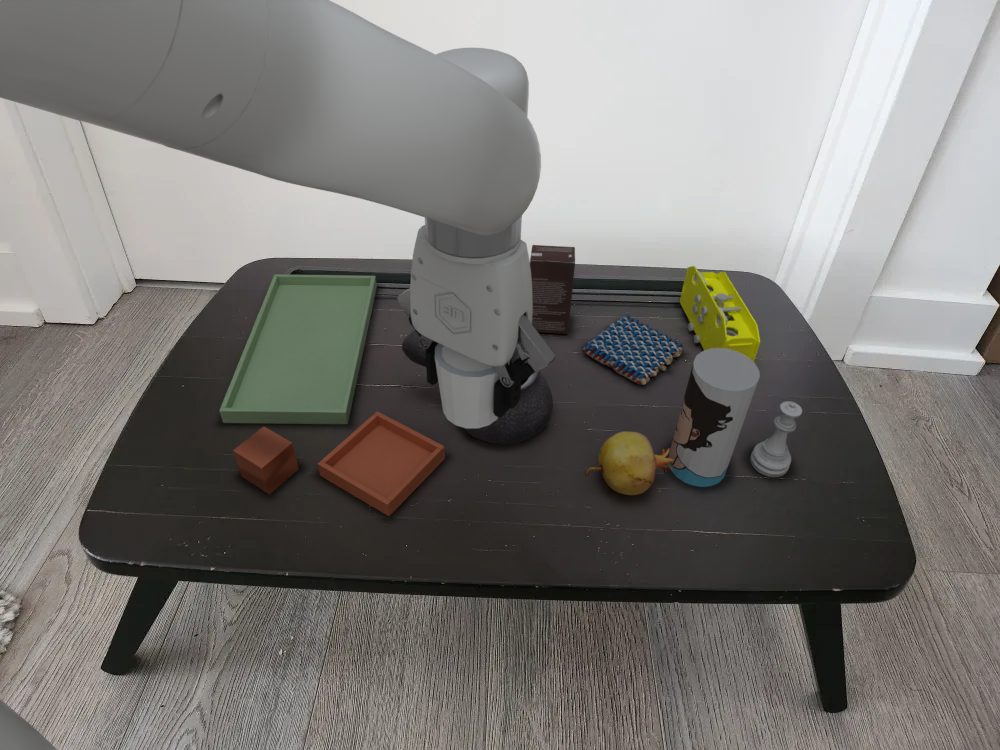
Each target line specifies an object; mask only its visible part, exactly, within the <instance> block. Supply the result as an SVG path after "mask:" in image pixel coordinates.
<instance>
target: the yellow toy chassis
mask: <svg viewBox="0 0 1000 750" xmlns="http://www.w3.org/2000/svg"><path fill="white" fill-rule="evenodd" d="M679 304H680V305H681V308H682V310H683V311H684V314H685V315H686V317H687V319H688V321H689V323H688V324H687V329H688V331H689V332H694V333H695V334H694V336H693V342H694V344H699V343H700V346H701V347H702V349H703V351H705V350H708V349H713V348H724V349H730V350H734V351H737V352H740V353H741V354H743V355H745V356H747V357H749V358H750V359H751V360H752V361H753V362H754V363H755V360H756V357H757V354H758V352H759V348H760V344H761V336H760V331H759V325H758V323H757V321H756V320H755V318H754V317H753V315H752V313H751V312H750V310H749V308H748V307H747V305H746V304H745V301H744V300H743V298H742V297H741V295H740V294H739V292H738V290H737V289H736V288H735V285H734V284H733V282H732V281H731V280H730V278H729V276H728V275H727V272H726V271H719V272H718V271H717V272H714V271H706V272H705V271H704V272H702V271H699V270H698V269H697V267H696V265H691V266H689V267H688V266H687V267H686V272H685V276H684V280H683V285H682V290H681V294H680V298H679Z"/></svg>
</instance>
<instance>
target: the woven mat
mask: <svg viewBox="0 0 1000 750" xmlns="http://www.w3.org/2000/svg"><path fill="white" fill-rule="evenodd" d="M683 347H684V345H683V344H682V343H681V342H680V343H679V342H678V340H677V339H674V340H673V338H672V337H668V334H665V333H664V335H663V333H662V332H659V330H658V329H654V328H652V327H649V325H648V324H645V325H644V323H643V322H640V320H639V319H638V318H637V319H636V320H635V318H634V317H631V315H630V314H627V315H626V316H625V317H622V316H620V319H619V320H616V322H615V323H613V322H612V323H611V324H610V326H609V327H608V328H607V330H602V332H600V334H597V336H595V338H593V339H591V340H590V341H588V342H587V345H586V346H583V352H584V353H585V354H586V355H587V356H589V357H590V358H592V359H593V360H595V361H597V362H598V363H600V364H602V365H604V366H607V367H608V368H612V369H613V370H614V371H615V372H616V373H617V374H619V375H621V376H623V378H626V379H628V380H630V381H632V382H634V383H636V384H637V385H641V386H644V385H646V384H647V383H649V381H650V380H651V378H652V377H656V376H657V374H658V373H659V372H660V371H663V372H665V371H667V366H668V365H670V364H672V363H673V361H674V358H679V357H680V356H681V355H682V353H683V351H682V350H683ZM665 365H666V366H665ZM650 377H651V378H650Z"/></svg>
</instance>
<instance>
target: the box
mask: <svg viewBox="0 0 1000 750" xmlns="http://www.w3.org/2000/svg"><path fill="white" fill-rule="evenodd" d="M531 245H532V246H531V252H530V257H529V261H530V268H531V278H532V301H533V311H532V325H533V327H534V328H535V329H536V330H537V332H538V333H544V334H545V333H546V334H561V335H569V328H570V320H571V311H572V310H571V309H572V299H573V290H574V289H573V288H574V278H575V268H576V267H575V266H576V247H575V246H563V245H562V246H559V245H543V244H542V245H541V244H531Z"/></svg>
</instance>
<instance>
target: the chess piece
mask: <svg viewBox="0 0 1000 750" xmlns="http://www.w3.org/2000/svg"><path fill="white" fill-rule="evenodd" d="M779 411H780V413H781V415H778V416H776V417H775V418H774V420H773V426H774V427H775V431H774V432H773V434H772V435H771V437H769V438H766V439H765V440H764V441H761V442H760V443H759V442H758V443H757V444H756V445H755V446H754V448H753V450H752V451H751V454H750V457H749V460H750V464H751V466H752V467H753V469H754V470H755V471H757V472H758V473H759V474H761V475H762V476H766V477H770V478H780V477H782V476H784V475H786V474H787V472H788V471H789V469H790V466H791V463H792V455H791V453H790V451H789V447H788V445H787V439H788V438H787V437H788V434H791V433H793V432H795V430H796V428H797V422H796V421H795V419H797V418H799V417H801V415H803V414H802V413H803V408H802V407H801V406H800V405H799V404H798V403H796V402H795V401H790V400H789V401H787V400H786V401H783V402H782V403H780V405H779Z"/></svg>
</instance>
